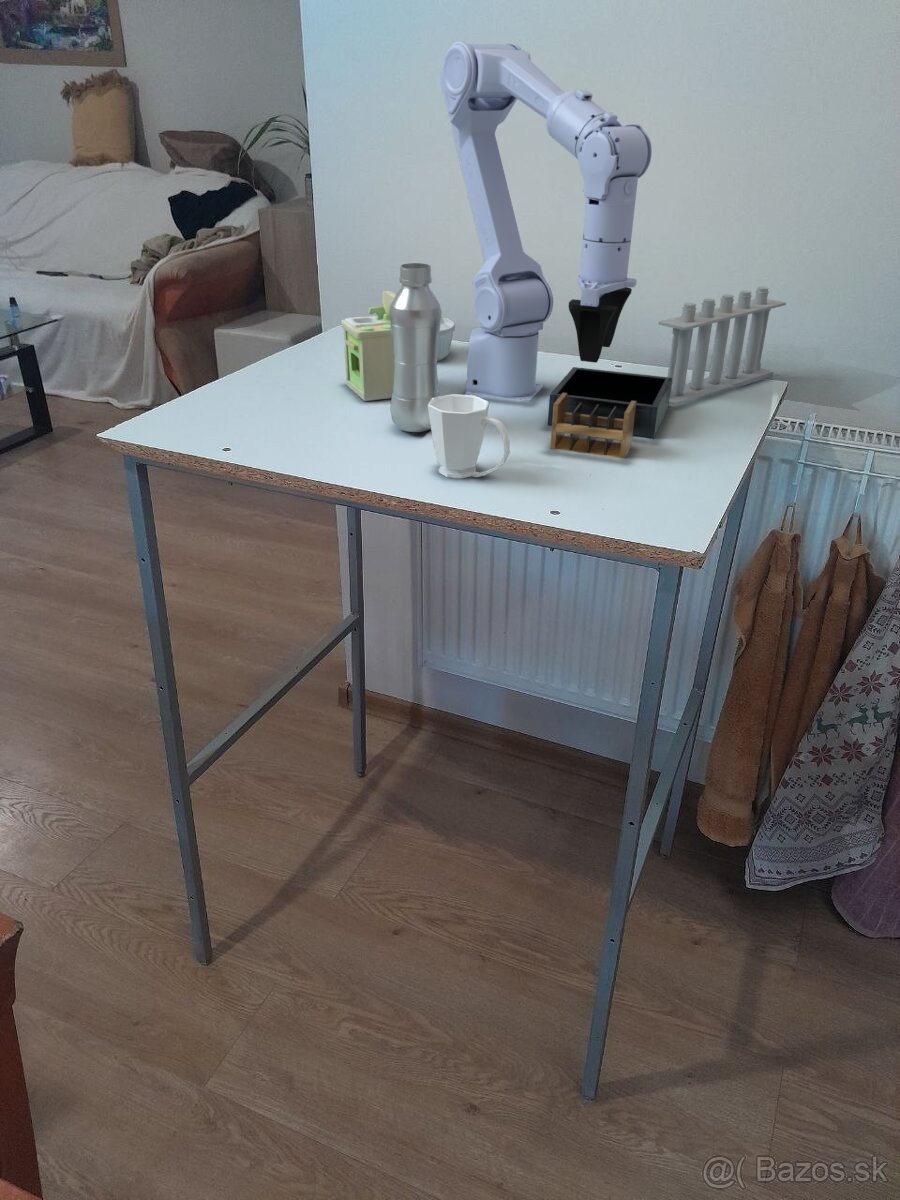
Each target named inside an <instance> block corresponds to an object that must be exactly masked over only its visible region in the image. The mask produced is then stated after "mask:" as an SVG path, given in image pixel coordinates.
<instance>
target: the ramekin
mask: <svg viewBox="0 0 900 1200" xmlns="http://www.w3.org/2000/svg"><path fill="white" fill-rule="evenodd" d="M455 329H456V323H455V322H454V321H453V320H452V319H450V318H447V317H444V316H442V317H441V325H440V332H439V339H438V352H437V362H438V361H442V360H444V359H446V357H447V356H448V355H449V354H450V351H451V346H452V341H453V335H454V332H455Z"/></svg>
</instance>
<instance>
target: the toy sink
mask: <svg viewBox="0 0 900 1200" xmlns="http://www.w3.org/2000/svg"><path fill="white" fill-rule="evenodd" d="M396 295H397V293H395V292H394V291H391V290H384V291H383V292H382V295H381V296H382V297H381V301H382V305H378V306H370V307H369V308H368V310H367V313H368V315H369V316H366V315H365V316H355V317H354V316H353V317H346V318H345V319H341V321H340V326H341V328H342V329H343V343H344V361H345V363H344V364H345V381H346V382H345V383H346V386H347V387H348V388H349V389H350V390H352V392H354V393H355V394H356V395H357V396H359V398H360V399H362V401H364V402H370V401H378V400H386V399H392V394H393V387H394V371H395V362H394V359H395V356H394V347H393V338H392V331H391V325H390V318H389V310H390V306H391V303H392V302H393V300H394V298H395V296H396ZM374 314H376V315H374Z"/></svg>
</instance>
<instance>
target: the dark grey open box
mask: <svg viewBox="0 0 900 1200" xmlns="http://www.w3.org/2000/svg"><path fill="white" fill-rule="evenodd" d="M671 385H673V384H672V378H670V377H668V376H659V375H650V374H641V373H632V372H624V371H623V372H622V371H613V370H604V369H594V368H586V367H576V366H573V367H572V368H571V369H570V370H569V371H568V373H566V375H565V376H564V377H563V379H562V380H561V381H560V382H559V383H558V385H556V387H555V388H554V389H553V390H552V391H551V393H549V400H548V412H547V426H549V427H552V419H553V405H554V403H555V402H556V401H557V399H558V398H559V397H560V396H561V394H562V393H567V405H566V412H569V413H573V412H574V410H575V409H576V407H577V406H578V405H579V403H580V402H582V409H581V414H585V415H590V414H591V413H592V411H593V410H594V408H595V407H596V405H597V404H599V411H598V416H602V417H608V416H609V414H610V413H611V411H612V410H613V408H614V406H616V415H615V418H618V419H624V414H625V411H626V409H627V408H628V406H629V404H630V403H631V401H636V409H635V418H634V426H633V435H632V437H636V438H643V439H652V440H654V439H655V437H656V435H657V433H658V431H659V428H660V426H661V424H662V422H663V421H664V419H665V415H666V414H667V411H668V409H669V406H670V404H669V400H670V392H671ZM565 423H566V424H571V423H572V422H565ZM580 425H582V426H589V424H581V423H580ZM597 427H598V428H606V429H607V427H605V426H597ZM614 430H622V431H623V429H621V428H614Z"/></svg>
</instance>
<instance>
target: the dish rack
mask: <svg viewBox="0 0 900 1200" xmlns="http://www.w3.org/2000/svg"><path fill="white" fill-rule="evenodd" d="M566 405H567V393H562V394H561V396H560V397H559V398H558V399H557V401H556V402H555V403H554V405H553V419H552V426H551V433H550V447H549V448H550V449H551V450H558V451H565V452H574V453H581V454H588V455H595V456H596V455H597V456H604V457H611V458H618V459H626V457H627V455H628V453H629V451H630V449H631V448H632V444H633V443H632V442H633V436H632V435H633V426H634V418H635V409H636V401H631V403H630V404H629V406H628V408H627V409H626V411H625V414H624V419H618V418H615V415H616V406H614V408H613V410H612V411H611V413H610V414H609V416H608V417H602V416H598V411H599V404H597V405H596V407H595V408H594V410H593V411H592V413H591V414H590V415H585V414H581V409H582V402H580V403H579V405H578V406H577V407H576V409H575V410H574V412H573V413H569V412H566ZM565 422H572V423H571V424H566V423H565ZM580 423H581V424H589V426H582V425H580ZM597 426H605V427H607V429H606V428H598V427H597ZM614 428H621V429H623V431H622V430H614ZM565 434H569V435H570V436H565ZM580 436H585V437H587V438H580ZM597 438H600V439H604V440H597ZM614 440H617V441H621V442H620V443H619V442H614Z"/></svg>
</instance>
